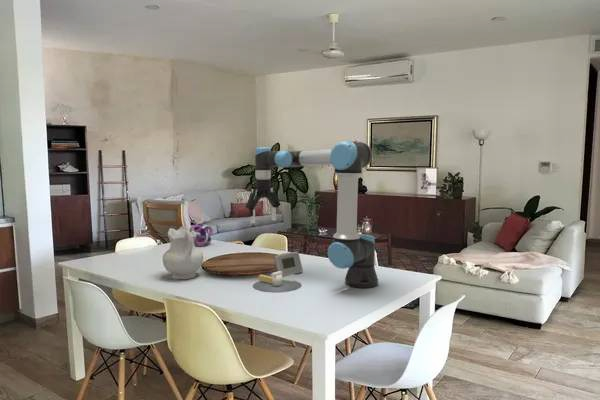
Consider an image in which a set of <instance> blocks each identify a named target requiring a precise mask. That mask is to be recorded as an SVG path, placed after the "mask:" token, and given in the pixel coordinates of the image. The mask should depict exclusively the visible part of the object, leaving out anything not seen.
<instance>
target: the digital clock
mask: <svg viewBox="0 0 600 400" xmlns="http://www.w3.org/2000/svg"><path fill="white" fill-rule="evenodd" d="M273 258H274V259H273V260H274V263H275V268H276V272H278V271H281V272H283V274H282V278H283V277H288V276H291V275H299V274H300V273H303V271H304V270H303V265H302V262H301V261H302V260H301V257H300V253H299V252H298V251H297V250H296V251H293V252H291V251H290V252H286V253H280V254H276V255H275V256H273Z"/></svg>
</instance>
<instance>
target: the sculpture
mask: <svg viewBox="0 0 600 400" xmlns="http://www.w3.org/2000/svg"><path fill="white" fill-rule="evenodd" d="M189 229H191V230H192V231H194V232H196V238H195V241H194V244H195V247H199V248H200V247H204V246H205V245H210V244H211V242H212V235H213V233H214V229H213V228H212V226H211V225H209V224H205V223H197V224H192V225H191V226H190V227H189Z"/></svg>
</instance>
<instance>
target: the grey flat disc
mask: <svg viewBox="0 0 600 400" xmlns="http://www.w3.org/2000/svg"><path fill="white" fill-rule="evenodd" d="M301 287H302V283H301V282H299V281H297V280H293V279H288V278H282V285H281V286H273V285H272V284H271V283H267V282H263V281H259V280H258V281H256V282H254V283H253V284H252V288H253V289H254V290H257V291H259V292H264V293H271V294H273V293H275V294H276V293H288V292H293V291H296V290H297V291H298V290H299V289H301Z"/></svg>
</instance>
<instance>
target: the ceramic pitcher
mask: <svg viewBox="0 0 600 400" xmlns="http://www.w3.org/2000/svg"><path fill="white" fill-rule="evenodd" d="M167 238H168V239H169V242H170V247H169V249H168V250H166V251H165V252H164V253H163V255H162V264H163V266H164V268H165V271H167V272H168V273H170V274H172V275H171V278H172V280H189V279H194V278H195V277H197V274H196V272H197V271H199V269H200V268H201V267H202V265H203V262H204V255H203V251H202V250H200V249H198V248H197V246H196V245H195V244H194V241H195V238H196V232H194V231H192V230H191V229H190V227H188V226H185V225H181V226H180V227H179V228H178V229H175V228H171V227H170V228H169V229H168V231H167Z"/></svg>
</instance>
